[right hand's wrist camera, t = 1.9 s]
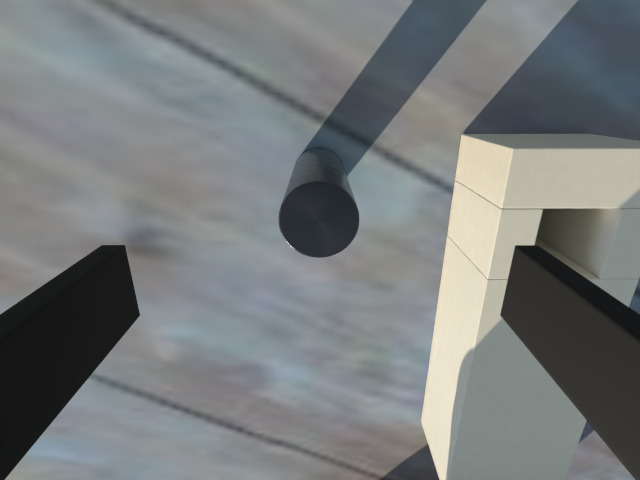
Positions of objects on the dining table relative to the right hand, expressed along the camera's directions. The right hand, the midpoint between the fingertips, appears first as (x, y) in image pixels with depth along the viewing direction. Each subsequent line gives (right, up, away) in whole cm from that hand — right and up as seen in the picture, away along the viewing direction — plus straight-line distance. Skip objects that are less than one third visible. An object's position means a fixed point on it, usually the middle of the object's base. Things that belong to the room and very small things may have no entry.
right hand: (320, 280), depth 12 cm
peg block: (+16, -4, +21) cm, 27 cm away
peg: (0, +7, +17) cm, 18 cm away
